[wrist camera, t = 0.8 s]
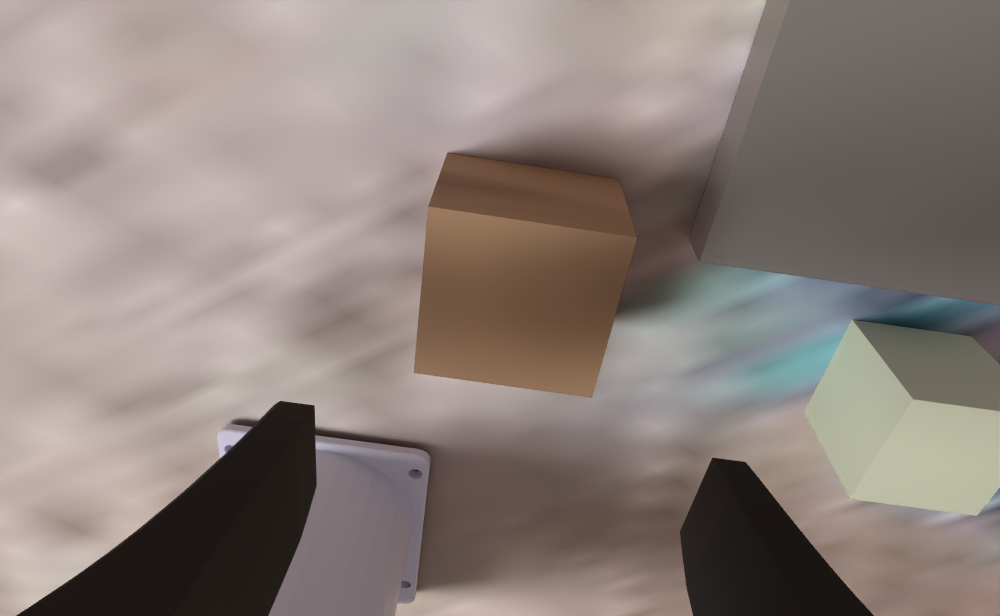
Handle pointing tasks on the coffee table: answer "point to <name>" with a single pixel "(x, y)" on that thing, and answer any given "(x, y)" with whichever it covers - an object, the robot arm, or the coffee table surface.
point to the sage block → (911, 418)
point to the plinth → (864, 148)
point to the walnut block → (521, 275)
